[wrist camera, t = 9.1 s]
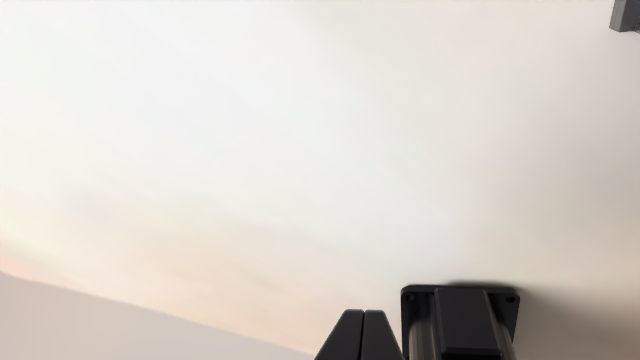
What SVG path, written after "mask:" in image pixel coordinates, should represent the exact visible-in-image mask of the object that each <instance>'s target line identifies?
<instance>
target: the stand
mask: <svg viewBox="0 0 640 360" xmlns="http://www.w3.org/2000/svg"><path fill="white" fill-rule="evenodd" d="M609 28H611V29H613V30H615V31H617V32H627V31H635V32H637V33H640V0H615V4H614V8H613V13H612V17H611V22H610V26H609Z"/></svg>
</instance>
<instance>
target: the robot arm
mask: <svg viewBox="0 0 640 360" xmlns="http://www.w3.org/2000/svg"><path fill="white" fill-rule="evenodd" d="M408 294H410V296H409V295H408ZM510 296H512V297H510ZM508 297H509V298H508ZM519 303H520V297H519V294H518V292H517V290H515V289H513V288H486V287H425V286H407V287H404V288H402V290H401V322H402V352H401V350H400V348H399V345H398V343H397V341H396V338H395V336H394V334H393V331H392V329H391V326H390V324H389V322H388V319H387V317H386V315H385V313H384V311H382V310H366V311H365V313H364V311H363V310H361V309H347V310H345V311H344V313H343V314H342V316H341V317H340V319H339V321H338V322H337V324H336V325H335V327H334V329H333V330H332V332H331V333H330V335H329V337H328V338H327V340H326V341H325V343H324V345H323V346H322V348H321V349H320V351H319V353H318V354H317V356H316V357H315V359H314V360H517V359H516V355H515V352H514V348H513V345H512V343H513V338H514V332H515V326H516V320H517V314H518V309H519Z"/></svg>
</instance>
